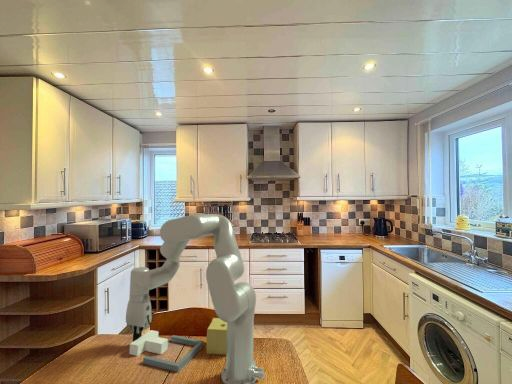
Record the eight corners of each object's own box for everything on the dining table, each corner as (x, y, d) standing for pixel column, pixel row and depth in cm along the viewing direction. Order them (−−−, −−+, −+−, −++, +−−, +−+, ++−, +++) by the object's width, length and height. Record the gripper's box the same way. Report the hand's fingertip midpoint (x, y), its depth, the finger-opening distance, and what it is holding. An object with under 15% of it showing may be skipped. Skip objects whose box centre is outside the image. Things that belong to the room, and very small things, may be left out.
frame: (203, 345, 105) (204, 341, 106) (178, 372, 88) (178, 366, 88) (173, 339, 110) (173, 335, 110) (143, 363, 93) (143, 357, 93)
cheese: (235, 342, 109) (235, 318, 110) (230, 356, 98) (231, 330, 99) (212, 340, 110) (212, 317, 111) (205, 354, 99) (205, 328, 100)
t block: (173, 344, 107) (173, 334, 107) (154, 360, 95) (154, 349, 96) (150, 339, 110) (151, 330, 111) (129, 354, 99) (129, 343, 99)
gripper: (159, 296, 108) (157, 340, 107) (132, 292, 112) (130, 334, 111) (146, 302, 101) (144, 349, 100) (118, 298, 105) (115, 342, 104)
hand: (137, 341), depth 105 cm, fingers closed
